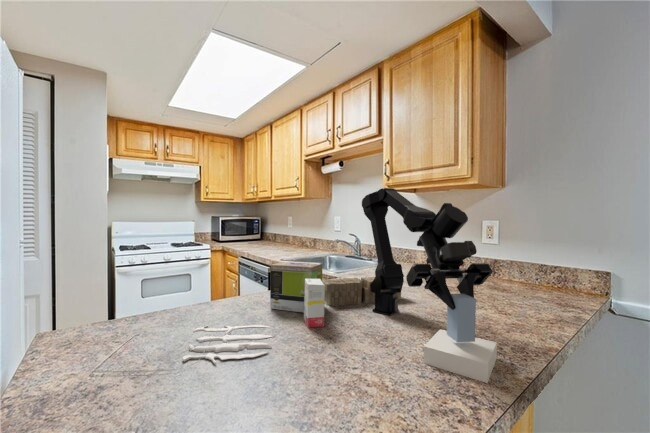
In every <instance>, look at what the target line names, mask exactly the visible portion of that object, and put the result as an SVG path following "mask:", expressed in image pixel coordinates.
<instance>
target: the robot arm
mask: <svg viewBox="0 0 650 433" xmlns="http://www.w3.org/2000/svg"><path fill="white" fill-rule="evenodd" d="M361 207H362V210H363V213H364V215H365V216H366V218H367V219H368V220H369V221H370V225H371V230H372V235H373V236H372V237H373V242H374V247H375V252H376V257H377V258H376V259H377V266H376V268H375V270H374V277H375V279H374V280H373V281H372V283H371V284H370V288H371V292H373V293H375V302H374V308H373V309H372V312H373V313H378V314H381V315H387V316H392V315H394V314H396V313H397V312H398V311H399V310H400V309H399V300H398V298H397V293H401V294H402V289H403V286H404V281H405V280H406V282H407V286H408V287H410V288H412V287H418V288H419V287H421V286H422V285H423V283H424V281H425V284H424V289H425V290H428V291H430V292H431V293H432V294H434V295H435V296H436V297H438V299H440V301H442V302H443V303H444V304H445V305H446V307H447V306H449V307H450V308H451V309H452V310H454V309H455V308H456V307H455V303H454V300H453V298H452V296H451V294H452V292H450V289H449V287H448V285H447V279H448V280H449V279H454V280H455V279H456V280H457V281H458V284H457V286H456V288H457V290H458V292H459V294H467V295H469V296H471V297H473V298H475V293H474V292H475V290H474V287H475V286H482V285H483V284H484V283H485V282H486V281H487V279H488V278H489V277H491V275H492V274H493V273H494V271H493V270H492V267H491V266H490V264H489V263H486V262H476V263H475V262H473V263H472V262H471V263H470V265H469V266H468V267H467V268H466V269H465V268H460V267H462V266H464V264H465V262H464V260H466V259H468V258H472V256H474V255H476V254H477V247H476V245H475V243H474V241H473V240H464V241H460V242H459V241H456V242H455V241H454V242H453V241H452V242H448V241H447V239H452V238H454V237H455V236H456V235H457V233H458V232H460V230H462V228H463V227H464V226H465V225H466V223H468V221H469V218H468V215H467V214H466V212H465V211H463V210H461V209H460V208H459V207H456V206H453V204H452V203H450V202H444V203H443V204H442V205H441V207H440V208H439V210H438V212H437V213H436V212H434V211H432V210H430V209H429V208H425V207H421V206H417V205H415V204H414V203H413V202H412V201H410V200H408V199H407V198H406V197H404V196H403V195H402V194H401V193H399V191H397V190H396V189H395V188H393V187H382V188H380V189H379V190H376V191H375V192H371V193H368V194H366V195H365V196H364V197H363V198H362V200H361ZM389 207H390V208H391V209H392V210H394V211H395V212H396V213H397V214H398V215H400V216H401V217H402V221H403V224H404V225H405V227H406V228H407V229H408V231H409V232H411V233H422V234H421V235H419V237H418V239H417V241H416V246H417V247H423V249H424V252H425V254H426V255H427V256H426V257H427V258H426V259H425V261H426V263H413V264H412V266H411V267H410V269H409V270H408V272H407V274H406V279H404V277H405V275H404V272H403V266H402V263H397V262H396V261H395V260H394V255H393V252H392V251H393V250H392V245H391V241H390V235H389V231H388V226H387V222H386V220H387V219H386V217H387V214H388V212H389ZM423 279H424V281H423ZM399 312H400V311H399Z"/></svg>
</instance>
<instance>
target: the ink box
mask: <svg viewBox="0 0 650 433" xmlns="http://www.w3.org/2000/svg"><path fill="white" fill-rule="evenodd" d="M324 294H325V285H324V284H323V282H322V281H321V279H305V296H304V312H303V319H304V322H305V324H306V327H307V328H319V327H320V328H323V327H325V301H324Z"/></svg>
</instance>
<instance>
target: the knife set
mask: <svg viewBox="0 0 650 433" xmlns="http://www.w3.org/2000/svg"><path fill="white" fill-rule="evenodd" d="M198 325H200V327H198V328H195V329H193V330H192V333H196V332H206V333H207V332H208V333H210V332H214V334H213V335H211V336H207V335H202V336H201V337H197V338H195V341H198V342H199V343H205V342H208V344H207V345H198V346H195V347H194V345H193V344H191V343H189V345H188V350H189V351H191V352H192V351H193V352H196V353H202V354H201V355H189V354H186V355H184V356H183V357H182V361H183V362H187V361H189V360H190V359H198V360H197V361H196V362H194V363H192V364H190V365H187V366H184V367H182V368H183V369H184V368H185V367H186V368H189V367H190V366H194V365H196V364H198V362H199V361H200V360H201V359H205V360H210V361H211V362H212V363H213V364H215V365H217V361H216V360H215V359H219V360H221V361H225V360H240V359H249V358H250V359H251V358H252V359H254V358H258V357H259V356H263V355H266V354H269V353H270V352H269V351H261V352H256V353H246V354H245V353H244V354H243V353H242V354H221V355H220V354H218V353H221V352H233V353H234V352H235V353H237V352H239V351H243V350H244V349H247V350H253V349H254V350H256V349H272V345H271V344H270V343H266V342H259V341H258V342H257V340H263V339H269V338H274V337H275V335H269V334H262V333H261V334H260V333H258V334H245V335H244V334H243V335H241V334H240V335H239V334H238V335H235V334H233V335H232V334H231V332H232V331H233V330H234V331H235V330H239V329H246V328H247V329H250V328H252V329H253V328H255V329H257V328H259V329H273V327H272V326H268V325H264V324H250V325H249V324H248V325H238V326H237V325H235V326H230V325H224V328H223V327H222V328H220V324H219V323H217V325H218V327H217V328H208V327H209V326H207V325H206V326H204V323H203V324H199V323H198V324H194V326H198ZM201 325H203V326H201ZM172 326H174V327H175V326H177V327H178V326H179V324H176V325H175V324H174V325H171V324H170V325H169V324H168V327H172ZM158 327H159V328H160V327H161V325H156V326H150V327H147V328H144V329H142V330H141V331H139V332H137V333H136V334H134V335H132V336H131V337H130V338H128V339H127V340H125V341H124V342H123V343H121V344H120V346H118V347H117V348H116V349H115V350H113V351H112V352H111V353H110V354H109V355H107V356H106V358H104V359H103V360H102V361H101V362H100V363H99V364H97V365H96V366H95V367H94V368H93V369H92V370H90V373H147V372H150V373H151V372H168V371H176V370H179V369H181V367H179V368H173V369H170V368H169V369H160V370H158V369H157V370H155V369H154V370H120V371H119V370H116V371H115V370H113V371H112V370H109V371H108V370H107V371H105V370H103V371H100V370H99V371H98V370H95V369H97V368H98V367H99V366H100V365H101V364H103V363H104V362H105V361H106V360H107V359H108V358H109V357H110V356H112V355H113V353H115V352H116V351H118V349H119V348H121V347H122V346H123V345H125V344H126V343H127V342H128V341H130V340H131V339H132V338H134V337H135V336H137V335H138V334H141V333H142V332H144V331H146V330H148V329H152V328H158ZM217 332H225V333H224V334H225V335H223V336H215V335H216V333H217ZM243 340H245V341H246V340H247V341H248V342H232V341H243ZM249 340H250V341H251V342H249ZM212 341H222V343H217V344H214V345H210V343H211V342H212ZM252 341H254V342H252ZM228 342H232V343H228ZM212 352H214V353H212ZM205 353H207V354H205ZM216 353H217V354H216Z"/></svg>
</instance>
